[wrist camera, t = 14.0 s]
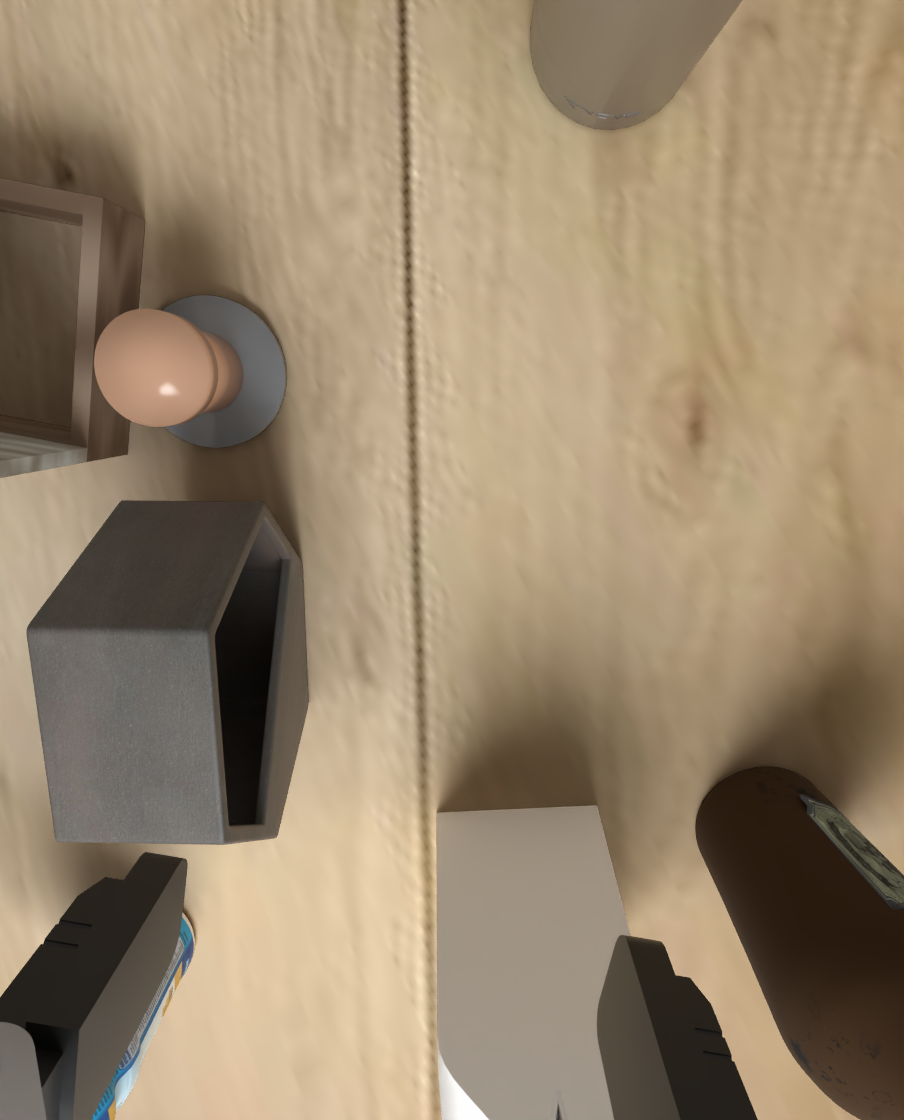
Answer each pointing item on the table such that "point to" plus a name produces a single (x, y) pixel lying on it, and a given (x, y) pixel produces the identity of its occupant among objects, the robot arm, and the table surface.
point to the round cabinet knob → (164, 368)
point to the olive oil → (815, 931)
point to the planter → (173, 677)
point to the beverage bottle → (147, 1027)
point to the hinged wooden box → (79, 328)
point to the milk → (523, 962)
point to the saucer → (259, 372)
